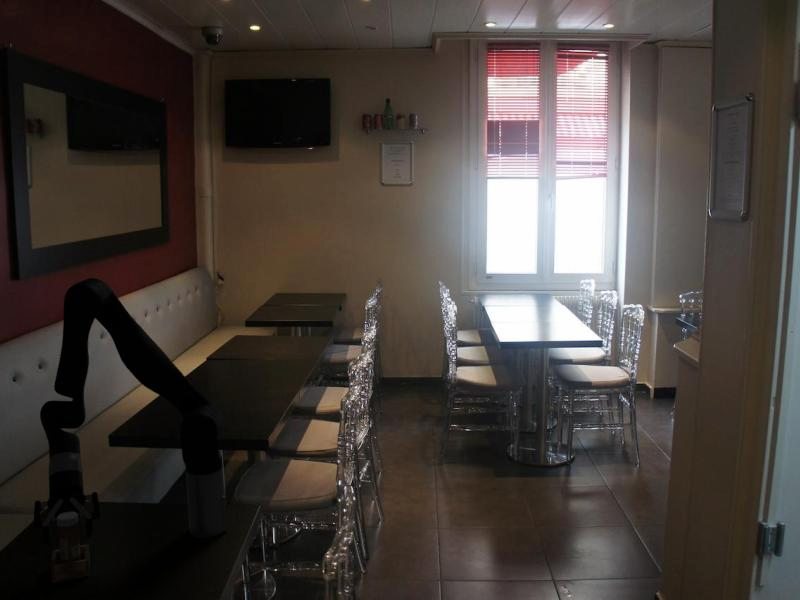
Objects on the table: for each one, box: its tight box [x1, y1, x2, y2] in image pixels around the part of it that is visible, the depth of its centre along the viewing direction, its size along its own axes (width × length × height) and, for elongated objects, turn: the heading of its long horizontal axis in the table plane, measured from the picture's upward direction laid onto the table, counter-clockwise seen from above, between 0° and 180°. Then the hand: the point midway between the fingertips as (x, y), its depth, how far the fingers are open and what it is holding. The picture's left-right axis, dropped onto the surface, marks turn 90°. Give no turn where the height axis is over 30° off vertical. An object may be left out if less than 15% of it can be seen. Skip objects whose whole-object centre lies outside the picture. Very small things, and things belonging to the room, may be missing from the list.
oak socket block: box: [50, 543, 91, 584], centre depth 176 cm, size 8×8×4 cm
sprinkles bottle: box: [56, 511, 81, 564], centre depth 176 cm, size 5×5×14 cm
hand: (68, 540), depth 174 cm, fingers open, 8 cm apart
